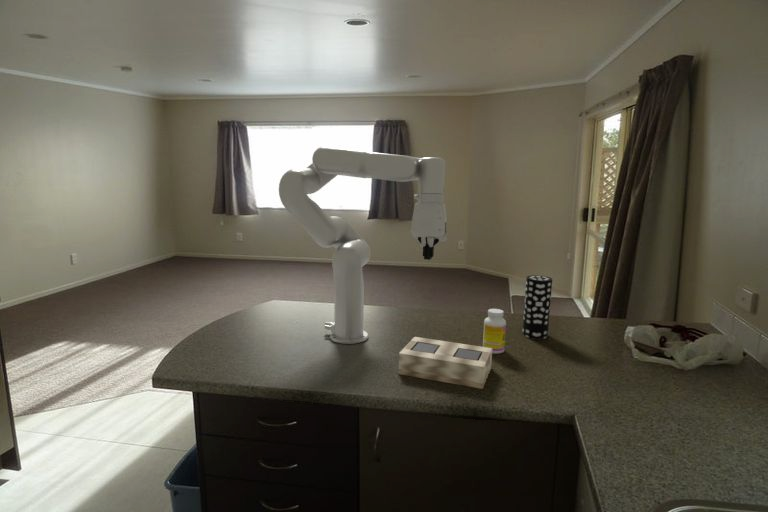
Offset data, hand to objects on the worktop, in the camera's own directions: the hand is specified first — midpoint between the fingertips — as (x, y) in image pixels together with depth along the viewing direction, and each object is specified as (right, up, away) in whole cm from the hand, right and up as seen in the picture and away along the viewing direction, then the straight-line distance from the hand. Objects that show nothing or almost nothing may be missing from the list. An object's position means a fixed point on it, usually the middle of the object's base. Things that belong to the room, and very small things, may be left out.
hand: (427, 258), depth 147 cm
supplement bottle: (+21, -29, +2) cm, 35 cm away
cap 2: (+9, -30, -16) cm, 35 cm away
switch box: (+4, -31, -14) cm, 34 cm away
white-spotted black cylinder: (+38, -26, +16) cm, 49 cm away
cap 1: (-2, -29, -12) cm, 31 cm away
